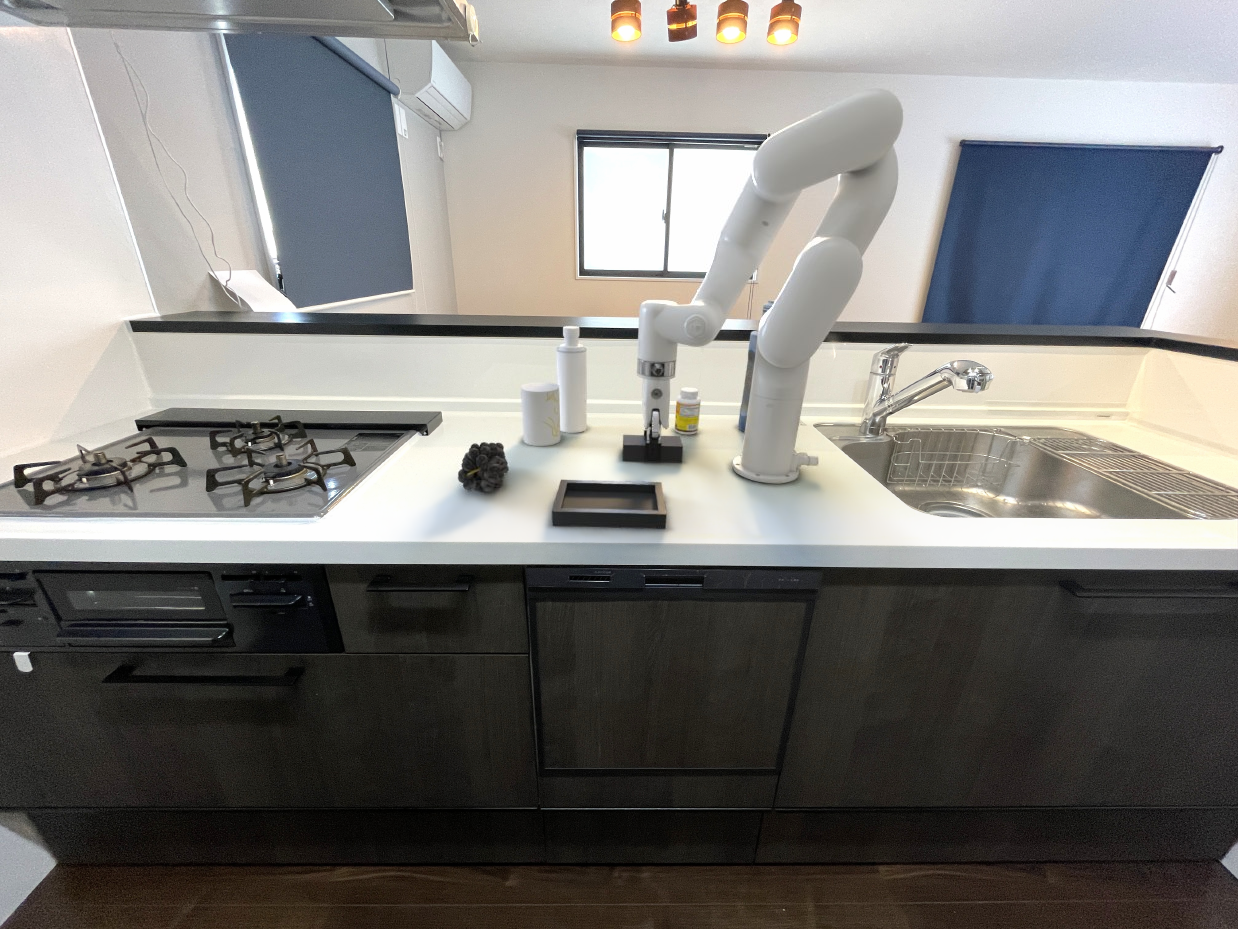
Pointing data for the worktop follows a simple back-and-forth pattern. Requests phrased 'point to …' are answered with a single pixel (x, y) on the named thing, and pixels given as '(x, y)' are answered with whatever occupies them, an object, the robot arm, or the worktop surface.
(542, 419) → the cup
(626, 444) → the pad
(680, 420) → the supplement bottle
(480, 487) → the fruit
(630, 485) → the shallow rectangular tray
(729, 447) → the worktop surface
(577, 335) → the tall white capped bottle
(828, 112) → the robot arm
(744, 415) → the bottle
